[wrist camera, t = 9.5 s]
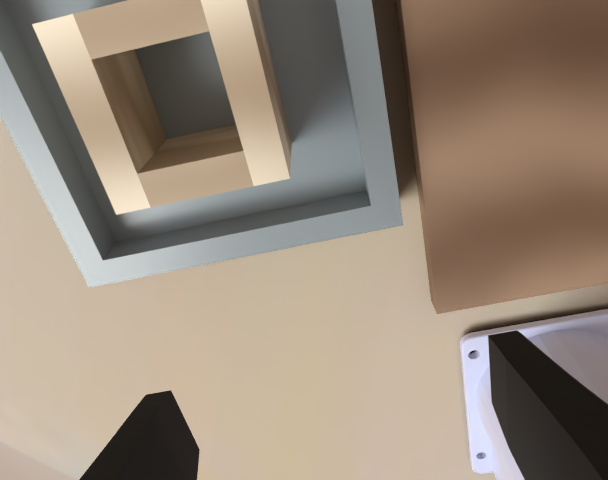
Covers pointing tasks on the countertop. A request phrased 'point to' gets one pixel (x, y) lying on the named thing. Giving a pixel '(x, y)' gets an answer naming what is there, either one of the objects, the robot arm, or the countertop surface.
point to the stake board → (509, 144)
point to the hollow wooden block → (141, 110)
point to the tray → (205, 116)
